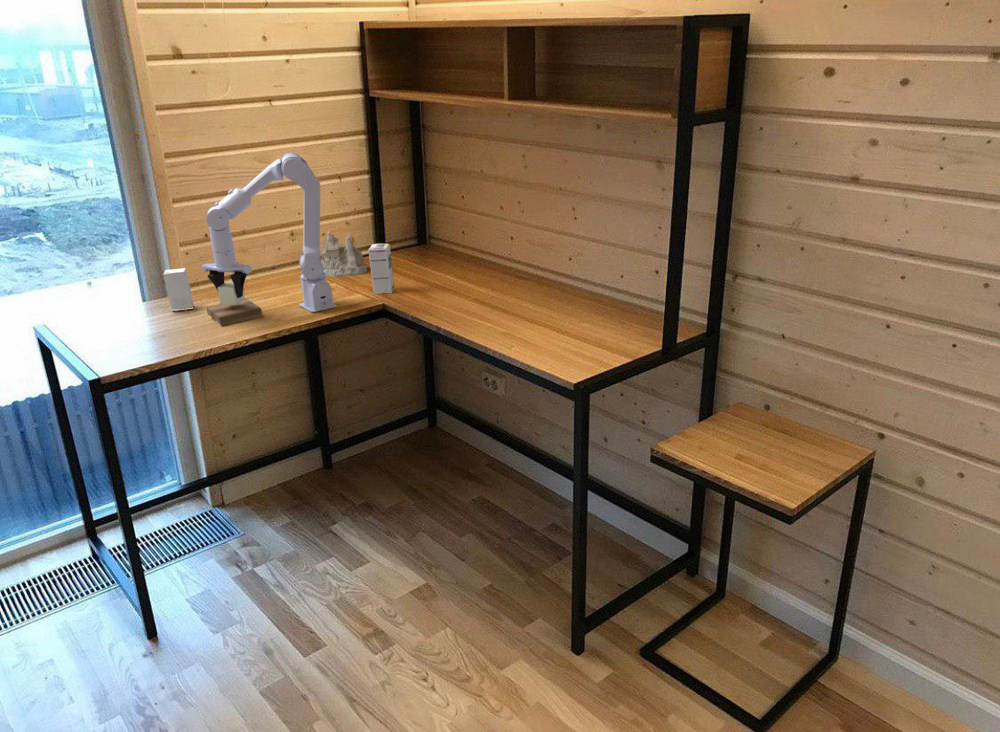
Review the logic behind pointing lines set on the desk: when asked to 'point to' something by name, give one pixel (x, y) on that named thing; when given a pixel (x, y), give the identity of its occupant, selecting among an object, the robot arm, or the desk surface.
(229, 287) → the white block
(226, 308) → the walnut box
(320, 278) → the robot arm
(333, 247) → the rocky castle sculpture
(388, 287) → the syrup box
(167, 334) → the desk surface
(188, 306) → the skincare box
